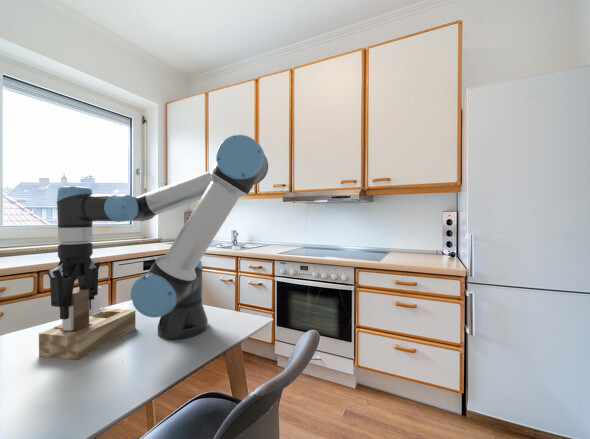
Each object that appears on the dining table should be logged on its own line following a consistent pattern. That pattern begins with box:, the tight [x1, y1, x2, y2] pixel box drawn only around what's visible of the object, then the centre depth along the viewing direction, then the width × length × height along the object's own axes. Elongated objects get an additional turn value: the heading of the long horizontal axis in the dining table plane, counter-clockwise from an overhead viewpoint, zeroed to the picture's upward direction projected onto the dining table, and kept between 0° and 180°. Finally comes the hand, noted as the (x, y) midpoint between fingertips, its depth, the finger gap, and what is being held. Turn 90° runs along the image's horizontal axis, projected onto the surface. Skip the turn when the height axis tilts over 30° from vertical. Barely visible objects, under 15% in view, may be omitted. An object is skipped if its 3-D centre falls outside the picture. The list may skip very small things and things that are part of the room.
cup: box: [73, 285, 103, 313], centre depth 94 cm, size 9×9×12 cm
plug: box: [63, 288, 89, 332], centre depth 76 cm, size 4×4×12 cm
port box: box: [38, 307, 137, 361], centre depth 81 cm, size 12×20×6 cm, turn 171°
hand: (76, 326), depth 76 cm, fingers closed on plug, 4 cm apart
